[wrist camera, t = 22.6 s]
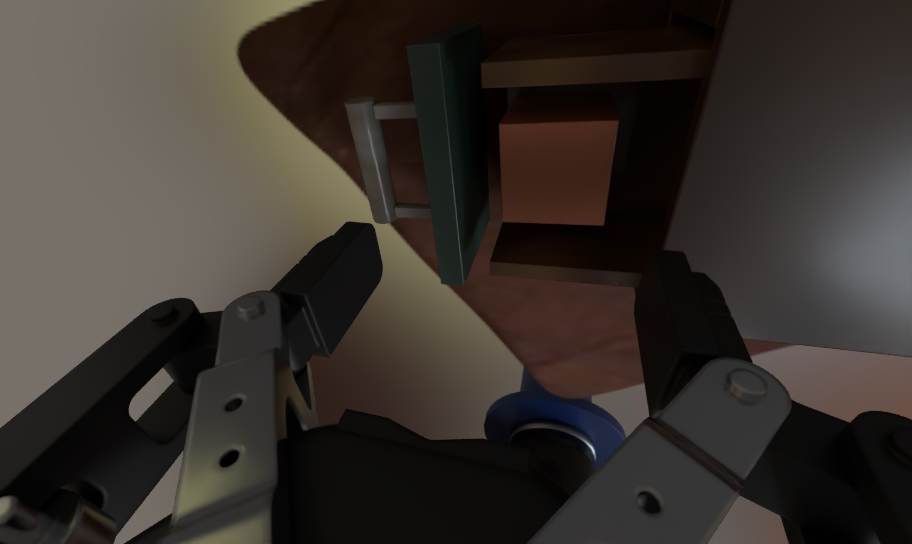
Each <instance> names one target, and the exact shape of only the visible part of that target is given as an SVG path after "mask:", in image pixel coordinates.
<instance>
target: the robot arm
mask: <svg viewBox="0 0 912 544" xmlns="http://www.w3.org/2000/svg"><path fill="white" fill-rule="evenodd" d="M382 270H383V265H382V260H381V255H380V250H379V246H378V241H377V237H376V232H375V228H374V226H373V225H372V224H370V223H360V222H359V223H358V222H346V223H345V224H344V225H343V226H342V227H341V228H340V229H339V230H338V231H337V232H336V233H335V234H334V235H331V236H330V237H328V238H326V239H324V240H323V241H321V242H319V243H317V244H316V245H315V246H314V247H313V248H312V249H311V250H310V251H309V252H308V254H307V256H306V255H305V256H304V257H303V258H302V259H301V260H300V261H299V264H296V265H295V266H294V267H293V268H292V269H291V270H290V271H289V272H288V273H287V274H286V275H285V276H284V277H283V278H282V279H281V280H280V281H279V282H278V283H277V284H276V285H275V286H274V287H273V288H272V289H271V290H270V291H256V292H252V293H248V294H246V295H243V296H241V297H239V298H237V299H236V300H234V301H233V302H231V303H230V304H229V305H228V306H227V307H226V308H225V310H224V311H217V312H206V313H200V312H199V310H198V309H197V307H196V305H195V304H194V302H193V301H192V300H190V299H186V298H175V299H170V300H167V301H164V302H161V303H158V304H156V305H154V306H152V307H150V308H149V309H147V310H146V311H144V312H143V313H141V314H140V315H139V316H138V317H137V318H135V319H134V320H133V321H132V322H130V323H129V324H128V325H127V326H126V327H124V328H123V329H122V330H121V331H119V332H118V333H117V334H116V335H114V336H113V337H112V338H111V339H110V340H108V341H107V342H106V343H105V344H104V345H102V346H101V347H100V348H98V349H97V350H96V351H95V352H94V353H92V354H91V355H90V356H89V357H87V358H86V359H85V360H84V361H82V362H81V363H80V364H79V365H77V366H76V367H75V368H74V369H73V370H71V371H70V372H69V373H68V374H67V375H65V376H64V377H63V378H62V379H60V380H59V381H58V382H57V383H55V384H54V385H53V386H52V387H50V388H49V389H48V390H47V391H46V392H44V393H43V394H42V395H41V396H39V397H38V398H37V399H36V400H34V401H33V402H32V403H31V404H29V405H28V406H27V407H26V408H25V409H23V410H22V411H21V412H20V413H18V414H17V415H16V416H15V417H13V418H12V419H11V420H10V421H9V422H7V423H6V424H5V425H4V426H2V427H1V428H0V544H113V543H114V541H115V538H116V536H117V534H118V533H119V532H120V531H121V529H122V528H123V527H124V525H125V524H126V523H127V522H128V520H129V519H130V518H131V517H132V515H133V514H134V513H135V511H136V510H137V509H138V508H139V506H140V505H141V504H142V502H143V501H144V500H145V498H146V497H147V496H148V495H149V493H150V492H151V491H152V490H153V488H154V487H155V486H156V485H157V483H158V482H159V481H160V479H161V478H162V477H163V476H164V474H165V473H166V472H167V471H168V469H169V468H170V467H171V466H172V464H173V463H174V462H175V460H176V459H177V457H178V456H179V455H180V454H181V453H182V451H183V450H184V452H183V458H182V463H181V469H180V475H179V480H178V486H177V491H176V497H175V502H174V508H173V513H171V514H170V515H168V516H167V517H165V518H164V519H162V520H161V521H159V522H157V523H156V524H154V525H153V526H151V527H149V528H148V529H146V530H145V531H143V532H142V533H140V534H138V535H137V536H135V537H134V538H132V539H131V540H129V541H127V542H126V543H124V544H708V542H709V541H710V539H711V537H712V536H713V534H714V533H715V531H716V530H717V528H718V527H719V525H720V524H721V522H722V521H723V519H724V518H725V516H726V515H727V513H728V511H729V510H730V508H731V507H732V505H733V504H734V502H735V501H736V499H737V497H738V496H739V495H740V496H742V497H744V498H746V499H748V500H750V501H752V502H754V503H756V504H758V505H760V506H762V507H764V508H766V509H768V510H770V511H772V512H774V513H776V514H778V515H780V516H781V519H782V522H783V526H784V529H785V532H786V536H787V539H788V542H789V544H912V420H911V419H909V418H906V417H903V416H900V415H897V414H893V413H889V412H883V411H868V412H864V413H861V414H859V415H858V416H857V417H856V418H855V419H854V420H852V421H851V422H850V423H849V422H846V421H844V420H841V419H839V418H836V417H833V416H831V415H828V414H825V413H823V412H820V411H817V410H815V409H812V408H809V407H807V406H804V405H802V404H800V403H797V402H795V401H793V400H791V398H790V395H789V393H788V391H787V390H786V388H785V387H784V386H783V385H782V383H781V382H780V381H779V380H778V379H776V378H775V377H774V376H773V375H772V374H770V373H769V372H768V371H766V370H764V369H763V368H761V367H759V366H757V365H755V364H753V362H752V360H751V358H750V355H749V353H748V351H747V348H746V346H745V344H744V342H743V339H742V337H741V335H740V333H739V330H738V328H737V326H736V323H735V321H734V319H733V318H732V317H731V312H730V310H729V308H728V305H726V301H725V298H724V296H723V294H722V292H721V289H720V287H719V286H718V285H717V284H716V283H715V282H714V281H713V280H711V279H710V278H709V277H708V276H707V275H706V274H705V273H700V272H692V271H691V268H690V265H689V263H688V260H687V257H686V255H685V253H684V252H683V251H671V250H660V249H651V250H650V252H649V254H648V257H647V260H646V263H645V266H644V270H643V273H642V276H641V280H640V283H639V286H638V290H637V293H636V297H635V305H634V316H635V323H636V330H637V336H638V343H639V350H640V356H641V363H642V369H643V376H644V383H645V389H646V396H647V403H648V408H649V416H650V417H648V418H647V419H645V420H644V421H643V422H642V423H641V424H640V425H639V426H638V427H637V428H636V429H635V430H634V431H633V432H632V433H631V434H630V435H629V436H628V437H627V438H626V439H625V440H624V441H623V443H622V444H621V445H620V446H619V447H618V448H617V449H616V450H615V451H614V452H613V453H612V454H611V455H610V456H609V457H608V458H607V459H606V460H605V461H604V462H603V464H602V465H601V466H600V467H599V468H598V469H597V470H596V471H595V460H596V450H595V444H594V442H593V441H592V439H591V438H590V437H589V436H588V435H587V434H586V433H584V432H583V431H581V430H580V429H578V428H576V427H574V426H572V425H569V424H567V423H564V422H560V421H556V420H549V419H532V420H527V421H523V422H521V423H519V424H517V425H516V426H515V427H514V428H513V429H512V431H511V434H510V441H509V444H505V443H500V442H495V441H491V440H486V439H455V440H429V439H426V438H424V437H422V436H420V435H419V434H417V433H415V432H413V431H411V430H409V429H407V428H405V427H404V426H402V425H400V424H398V423H396V422H394V421H393V420H391V419H389V418H386V417H381V416H377V415H373V414H368V413H363V412H358V411H354V410H350V409H346V410H345V412H344V414H343V415H342V417H341V419H340V421H339V423H331V424H325V425H322V426H319V425H318V421H317V414H316V406H315V398H314V390H313V382H312V374H311V368H310V365H309V362H308V361H309V360H310V358H311V357H312V355H317V356H323V357H328V358H329V357H330V355H331V354H332V352H333V351H334V350H335V348H336V347H337V345H338V343H339V342H340V340H341V339H342V337H343V336H344V334H345V333H346V332H347V330H348V329H349V327H350V326H351V324H352V323H353V321H354V320H355V318H356V317H357V315H358V314H359V312H360V311H361V309H362V308H363V306H364V305H365V303H366V301H367V300H368V299H369V297H370V296H371V294H372V293H373V291H374V290H375V288H376V287H377V285H378V284H379V282H380V280H381V277H382ZM162 368H164V369H165V370H166V371H167V373H168V374H169V375H170V376H171V378H172V379H173V380H174V382H173V383H172V384H171V385H170V386H169V387H168V388H167V389H166V390H165V391H164V392H163V393H162V394H161V396H159V398H158V399H157V400H156V401H155V402H154V403H153V404H152V405H151V406H150V407H149V408H148V409H147V410H146V411H145V412H144V413H143V414H142V416H141V417H140V418H139V419H138V420H137V421H136V422H135V421H134V420H133V419H132V418H131V417H130V415H129V405H130V402H131V400H132V398H133V397H134V396H135V394H136V393H137V392H138V391H139V390H140V389H141V388H142V387H143V386H144V385H145V384H146V383H147V382H148V381H149V380H150V379H151V378H152V377H153V376H155V374H157V373H158V372H159V370H160V369H162Z"/></svg>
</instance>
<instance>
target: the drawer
mask: <svg viewBox="0 0 912 544" xmlns="http://www.w3.org/2000/svg"><path fill="white" fill-rule="evenodd" d="M715 30H716V28H714V27H711V26H709V25H706V24H698V25H686V26H673V27H660V28H647V29H634V30H621V31H608V32H595V33H582V34H569V35H556V36H543V37H530V38H517V39H509V40H508V41H507V42H505V43H504V44H503V45H502V46H501V47H500V48H498V49H497V50H496V51H495V52H494V53H493V54H491V55H490V56H489V57H488V58H487V59H486V60H484V61H483V51H482V28H481V23H476V24H465V25H457V26H454V27H452V28H449V29H447V30H444V31H442V32H439V33H437V34H434V35H431V36H429V37H426V38H424V39H421V40H419V41H416V42H414V43H411V44H409V45H407V46H406V48H407V55H408V62H409V69H410V75H411V82H412V89H413V96H414V101H410V102H383V103H376V99H375V97H371V96H364V97H356V98H352V99H349V100H347V101H345V108H346V112H347V116H348V120H349V124H350V128H351V132H352V136H353V139H354V143H355V147H356V151H357V155H358V159H359V163H360V167H361V171H362V175H363V179H364V183H365V187H366V191H367V195H368V199H369V203H370V207H371V211H372V215H373V219H374V221H375V222H376V223H380V224H386V223H391V222H393V221H395V220H397V219H398V218H399V217H400V218H421V219H432V224H433V231H434V238H435V244H436V251H437V258H438V265H439V271H440V278H441V283H442V284H447V285H457V286H464V284H465V282H466V279H467V277H468V274H469V271H470V269H471V266H472V264H473V261H474V259H475V256H476V253H477V251H478V248H479V246H480V243H481V240H482V238H483V235H484V233H485V230H486V228H487V225H488V222H489V220H490V210H489V187H488V165H487V142H486V119H485V96H484V88H504V87H507V109H508V108H509V106H510V104H511V102H512V101H513V99H514V97H524V96H543V95H562V94H581V93H600V92H612V95H613V99H614V103H615V107H616V111H617V116H618V120H619V124H618V131H617V138H616V144H615V151H614V158H613V165H612V172H611V179H610V186H609V193H608V200H607V207H606V214H605V221H604V225H603V226H600V225H572V224H545V223H517V222H503V223H502V226H501V229H500V232H499V236H498V239H497V242H496V245H495V248H494V251H493V254H492V257H491V260H490V274H491V275H498V276H509V277H521V278H533V279H544V280H556V281H567V282H579V283H590V284H602V285H613V286H625V287H636V288H638V286H639V283H640V280H641V276H642V273H643V270H644V266H645V263H646V260H647V257H648V254H649V252H650V250H651V249H657V246H658V243H659V239H660V235H661V231H662V228H663V224H664V220H665V217H666V213H667V209H668V205H669V202H670V198H671V194H672V190H673V187H674V183H675V179H676V176H677V172H678V168H679V164H680V161H681V157H682V153H683V150H684V146H685V142H686V138H687V135H688V131H689V127H690V123H691V120H692V116H693V112H694V109H695V105H696V101H697V97H698V94H699V90H700V86H701V83H702V79H703V75H704V71H705V68H706V64H707V60H708V57H709V53H710V49H711V45H712V42H713V38H714V34H715ZM413 118H417V123H418V129H419V136H420V143H421V150H422V156H423V163H424V170H425V177H426V184H427V190H428V197H429V204H412V203H398V204H397V201H396V196H395V191H394V186H393V181H392V177H391V172H390V167H389V162H388V157H387V152H386V147H385V142H384V137H383V132H382V128H381V123H380V119H413Z"/></svg>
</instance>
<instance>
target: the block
mask: <svg viewBox="0 0 912 544" xmlns="http://www.w3.org/2000/svg"><path fill="white" fill-rule="evenodd" d="M618 124H619V120H618V116H617V111H616V107H615V103H614V99H613V95H612V92H600V93H581V94H562V95H543V96H524V97H514V99H513V101H512V102H511V104H510V106H509V108H508V109H507V111H506V113H505V115H504V116H503V118H502V120H501V122H500V124H499V145H500V171H501V197H502V221H503V222H517V223H545V224H572V225H600V226H603V225H604V221H605V214H606V207H607V200H608V193H609V186H610V179H611V172H612V165H613V158H614V151H615V144H616V138H617V131H618Z"/></svg>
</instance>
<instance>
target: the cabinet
mask: <svg viewBox="0 0 912 544" xmlns="http://www.w3.org/2000/svg"><path fill="white" fill-rule="evenodd" d="M698 24H706V25H709V26H711V27H714V28H716V30H715V34H714V38H713V42H712V45H711V49H710V53H709V57H708V60H707V64H706V68H705V71H704V75H703V79H702V83H701V86H700V90H699V94H698V97H697V101H696V105H695V109H694V112H693V116H692V120H691V123H690V127H689V131H688V135H687V138H686V142H685V146H684V150H683V153H682V157H681V161H680V164H679V168H678V172H677V176H676V179H675V183H674V187H673V190H672V194H671V198H670V202H669V205H668V209H667V213H666V217H665V220H664V224H663V228H662V231H661V235H660V239H659V243H658V246H657V249H660V250H671V251H683V252H684V253H685V255H686V257H687V260H688V263H689V265H690V268H691V271H692V272H700V273H705V274H706V275H707V276H708V277H709V278H710V279H711V280H713V281H714V282H715V283H716V284H717V285H718V286H719V287H720V289H721V292H722V294H723V296H724V298H725V301H726V305H728V308H729V310H730V312H731V317H732V318H733V319H734V321H735V323H736V326H737V328H738V330H739V333H740V335H741V337H742V338H743V339H752V340H761V341H770V342H779V343H787V344H796V345H806V346H814V347H824V348H833V349H841V350H850V351H860V352H868V353H877V354H887V355H895V356H905V357H912V0H670V1H669V6H668V11H667V16H666V21H665V26H664V27H673V26H686V25H698ZM634 289H635V295H636V293H637V290H638V288H636V287H634Z"/></svg>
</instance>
